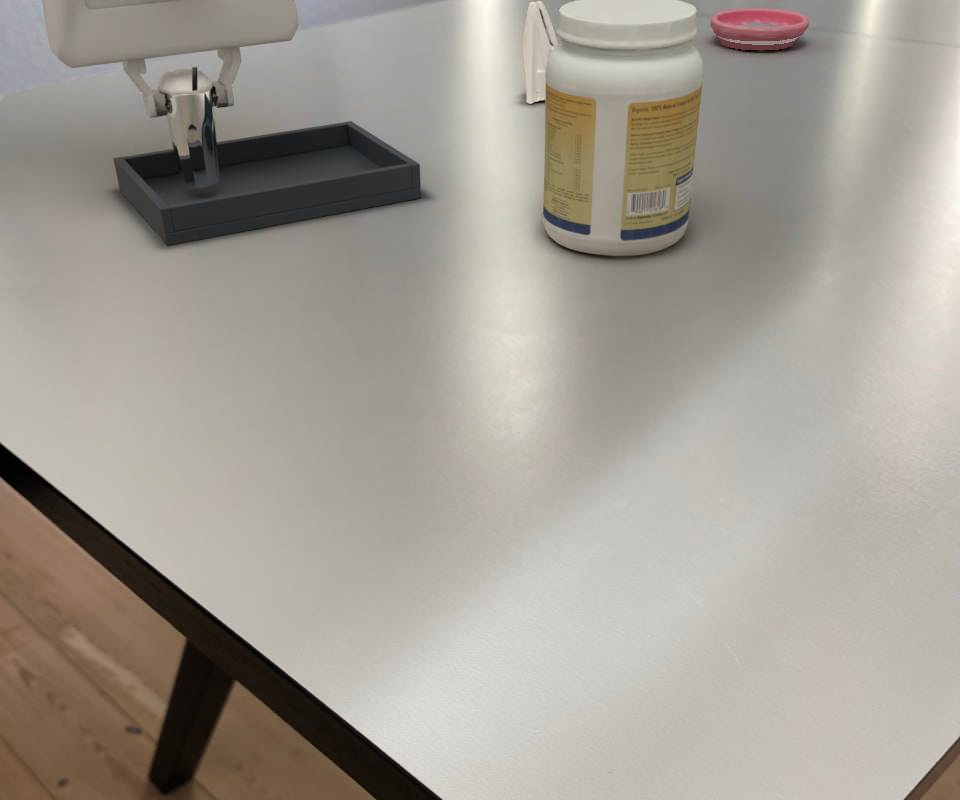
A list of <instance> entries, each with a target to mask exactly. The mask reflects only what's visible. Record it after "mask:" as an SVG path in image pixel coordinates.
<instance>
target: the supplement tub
mask: <svg viewBox="0 0 960 800" xmlns="http://www.w3.org/2000/svg"><path fill="white" fill-rule="evenodd" d="M696 25H697V8H696V7H695V6H694V5H693V4H690V3H688V2H685V1H682V0H574V1H570V2H568V3H565V4H563V5H562V6H560V7H559V10H558V26H557V28H556V33H555V34H556V35H557V37H558V38H559V39H560V41H561V42H560V43H558V46H557V47H556V48H555V49H554V50H553V51H552V53H551V54H550V56H549V58H548V61H547V65H546V72H545V77H546V88H545V100H544V113H545V114H544V163H543V165H544V167H543V199H542V200H543V202H542V203H543V205H542V222H543V227H544V229H545V231H546V233H547V235H548V236H549V237H550V239H552V240H553V241H554V242H555V243H557V244H559V245H560V246H562V247H565V248H567V249H569V250H573V251H576V252H579V253H585V254H589V255H599V256H608V257H633V256H641V255H646V254H647V255H648V254H652V253H656V252H659V251H662V250H665V249H667V248H668V247H671V246H673V245H674V244H676V243H677V242H678V241H680V240H681V238H683V236H684V235H685V234H686V231H687V229H686V228H688V223H689V220H690V209H691V197H692V187H693V177H694V168H695V167H694V166H695V157H696V147H697V139H698V138H697V137H698V127H699V118H700V110H701V99H702V90H703V89H702V87H703V79H704V61H703V59H702V56H701V53H700V52H699V50H698V49H697V48H696V47H695V46H694V45H693V44H691V43H692V41H693V39H694V38H696V36H697V34H698V28H697V26H696ZM685 230H686V231H685ZM684 231H685V232H684ZM683 232H684V233H683ZM682 233H683V234H682ZM681 234H682V235H681ZM679 235H681V236H679ZM678 236H679V237H678ZM677 237H678V238H677ZM675 238H676V239H675ZM673 239H674V240H673ZM670 240H672V241H670ZM668 241H669V242H668Z"/></svg>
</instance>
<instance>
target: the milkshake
mask: <svg viewBox="0 0 960 800" xmlns="http://www.w3.org/2000/svg"><path fill="white" fill-rule="evenodd" d="M212 82H213V80H212V79H211V78H210V77H209V76H208V75H207V74H205V73H204V72H202V71H200V70H198V66H192V67H191V68H178V69H175V70H173V71H166V72H165V73H163V75H161V77H160V78H159V80H158V81H157V85H156V86H157V89H158V90H159V91H160V92H162V93H164V95H165V100H166V103H165V107H166V108H167V112H168V115H166V116H165V119H166V123H167V127H168V131H169V135H170V139H171V144H172V149H174V152H175V156H176V160H177V164H178V168H179V172H180V177H181V181H182V184H184V185H185V186H186V187H191V188H205V187H210V186H213V185H216V184H217V183H218V182H219V180H220V178H219V165H218V153H217V142H218V141H217V129H216V122H215V121H216V120H215V119H216V118H215V106H214V100H213V83H212Z"/></svg>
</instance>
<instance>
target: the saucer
mask: <svg viewBox="0 0 960 800" xmlns="http://www.w3.org/2000/svg"><path fill="white" fill-rule="evenodd" d="M749 23H766V24H773V25H774V24H775V25H783V26H778V27H750V26H739V25H744V24H749ZM809 25H810V18H809V17H808V16H807V15H805V14H803V13H801V12H797V11H792V10H787V9H778V8H738V9H737V8H735V9H729V10H723V11H720V12H718V13H715V14H714V15H712V16H711V18H710V28H711V29H712V31H713V33H714V35H715V34H716V35H715V36H716V37H717V38H718V40H719V43H720V44H721V45H722V46H725V47H726V48H729V47H730V48H729V49H732V48H735V49H734V50H738V49H741V50H740V51H745V50H775V51H780V50H779V49H782V50H786V49H789V48H790V47H793V46H794V45H795V43H796V41H797V40H795V41H792V42H789V43H784V44H774V45H752V44H741V43H735V42H730V41H726V40H723V39H721V38H719V37H722V38H726V39H732V40H740V41H780V40H781V41H782V40H787V39H793V38H796V37H799V36H801V35H802V36H803V35H804V33H805V32H806V31H807V30H808V28H809ZM718 36H719V37H718ZM802 36H801V37H802ZM799 38H800V37H799ZM788 47H789V48H788ZM785 48H786V49H785Z"/></svg>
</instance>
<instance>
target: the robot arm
mask: <svg viewBox="0 0 960 800" xmlns="http://www.w3.org/2000/svg"><path fill="white" fill-rule="evenodd" d="M41 2H42V11H43V18H44V25H45V30H46V31H45V32H46V35H47V41H48V45H49V48H50V50H51V52H52V54H53V56H54V57H56V58H57V59H58V61H60V62H61V63H63V64H64V65H65V66H66V67H68V68H70V69H77V68H83V67H92V66H100V65H108V64H117V63H122V67H123V71H124V73H125V74H126V75H127V76H128V78H129V79H130V80H131V82H132V83H133V84H134V86H135V87H136V89H137V90H138V91H139V92H140V93H141V95H142V100H143V107H144V110H145V114H146V116H147V117H149V118H150V119H153V118H158V117H164V116H165V117H166V115H168V112H167V108H166V107H165V103H166V100H165V95H164V93H162V92H160V91H159V90H158V88H156V89H151V87H150V86H149V85H148V84H147V82H146V81H145V79H144V78H143V77H142V76H141V75H145V74H147V67H146V65H147V64H146V61H145V60H148V59H155V58H156V59H157V58H163V57H172V56H179V55H188V54H196V53H205V52H211V51H216V53H217V57H218V58H219V59H221V60H222V61H223V62H222V65H221V68H220V72H219V75H218V78H217V80H216V81H215V80H214V81H212V83H213V100H214V107H215V108H217V109H221V108H228V107H234V106H235V99H234V98H235V97H234V91H233V85H234V83H235V81H236V77H237V75H238V72H239V70H240V67H241V64H242V54H241V48H244V47H253V46H258V45H259V46H260V45H267V44H274V43H284V42H290V41H292V40H293V39H294V37H295V35H296V33H297V31H298V29H299V15H298V11H297V9H298V8H297V4H296V0H41Z"/></svg>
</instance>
